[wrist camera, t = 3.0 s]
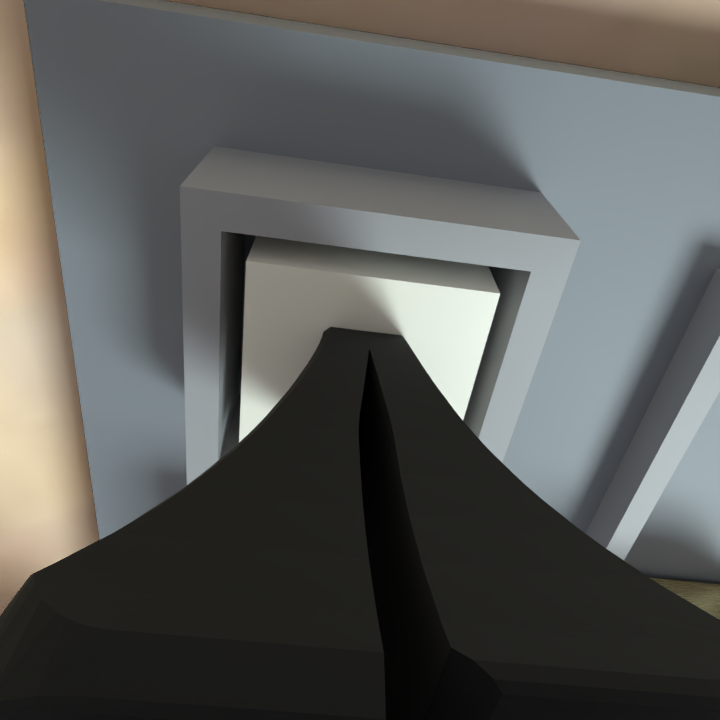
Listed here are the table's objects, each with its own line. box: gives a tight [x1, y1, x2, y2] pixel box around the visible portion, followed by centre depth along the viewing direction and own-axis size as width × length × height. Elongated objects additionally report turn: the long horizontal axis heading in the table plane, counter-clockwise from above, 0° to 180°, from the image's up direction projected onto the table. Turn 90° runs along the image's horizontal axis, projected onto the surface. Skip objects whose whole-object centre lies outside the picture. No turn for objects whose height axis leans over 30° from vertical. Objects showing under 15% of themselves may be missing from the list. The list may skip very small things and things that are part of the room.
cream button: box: [239, 236, 500, 442], centre depth 11 cm, size 4×4×2 cm
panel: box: [24, 0, 720, 585], centre depth 15 cm, size 18×21×4 cm
